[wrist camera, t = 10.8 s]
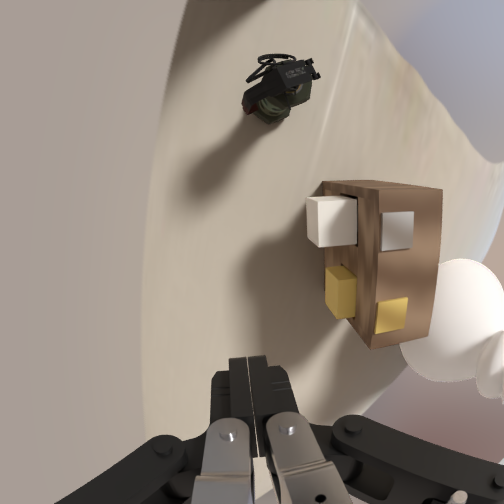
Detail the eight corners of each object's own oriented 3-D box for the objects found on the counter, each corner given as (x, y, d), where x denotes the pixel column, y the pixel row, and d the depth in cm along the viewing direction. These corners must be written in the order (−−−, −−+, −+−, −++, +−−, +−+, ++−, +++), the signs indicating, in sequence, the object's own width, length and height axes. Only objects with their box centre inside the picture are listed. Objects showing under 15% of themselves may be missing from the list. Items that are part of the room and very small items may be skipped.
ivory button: (305, 197, 33) (317, 201, 29) (357, 194, 33) (374, 198, 29) (307, 237, 34) (318, 247, 30) (357, 233, 35) (374, 242, 30)
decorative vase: (423, 357, 49) (503, 444, 25) (354, 325, 45) (440, 439, 21) (475, 272, 46) (578, 330, 21) (414, 223, 42) (547, 276, 18)
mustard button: (325, 267, 35) (338, 280, 31) (372, 262, 36) (389, 274, 31) (325, 303, 36) (336, 319, 32) (370, 296, 37) (386, 311, 33)
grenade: (249, 137, 37) (263, 117, 23) (229, 95, 36) (232, 53, 21) (296, 118, 37) (335, 91, 23) (277, 77, 36) (304, 31, 21)
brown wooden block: (322, 181, 40) (380, 190, 24) (370, 180, 40) (444, 189, 24) (324, 290, 43) (371, 351, 28) (369, 284, 44) (429, 337, 28)
